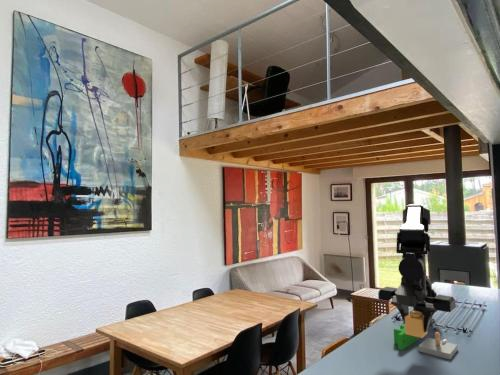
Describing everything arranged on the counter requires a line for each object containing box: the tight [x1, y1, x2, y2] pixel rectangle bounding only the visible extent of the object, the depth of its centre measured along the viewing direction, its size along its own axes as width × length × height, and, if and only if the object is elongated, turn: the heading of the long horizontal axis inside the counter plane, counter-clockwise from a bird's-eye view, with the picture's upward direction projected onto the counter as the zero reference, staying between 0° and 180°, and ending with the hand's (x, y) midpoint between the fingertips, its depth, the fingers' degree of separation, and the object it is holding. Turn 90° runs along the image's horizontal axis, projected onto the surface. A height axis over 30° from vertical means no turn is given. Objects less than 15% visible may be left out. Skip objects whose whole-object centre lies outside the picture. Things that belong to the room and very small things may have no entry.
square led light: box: [404, 310, 428, 339], centre depth 95 cm, size 4×4×6 cm
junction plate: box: [418, 331, 459, 360], centre depth 98 cm, size 9×8×5 cm
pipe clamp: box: [393, 324, 419, 351], centre depth 104 cm, size 11×4×5 cm, turn 132°
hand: (416, 329), depth 94 cm, fingers closed on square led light, 4 cm apart
